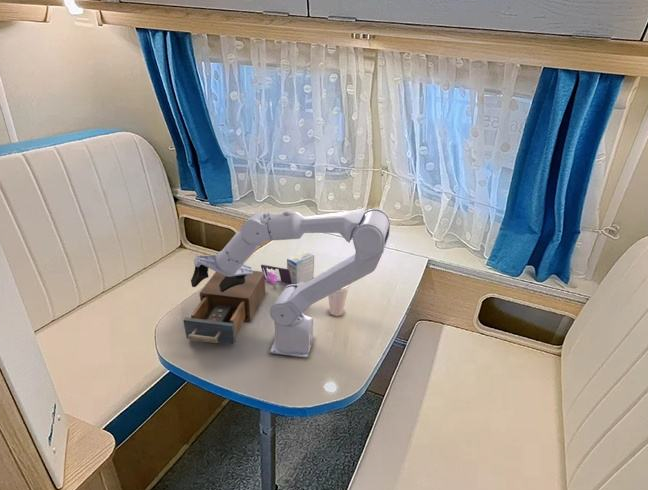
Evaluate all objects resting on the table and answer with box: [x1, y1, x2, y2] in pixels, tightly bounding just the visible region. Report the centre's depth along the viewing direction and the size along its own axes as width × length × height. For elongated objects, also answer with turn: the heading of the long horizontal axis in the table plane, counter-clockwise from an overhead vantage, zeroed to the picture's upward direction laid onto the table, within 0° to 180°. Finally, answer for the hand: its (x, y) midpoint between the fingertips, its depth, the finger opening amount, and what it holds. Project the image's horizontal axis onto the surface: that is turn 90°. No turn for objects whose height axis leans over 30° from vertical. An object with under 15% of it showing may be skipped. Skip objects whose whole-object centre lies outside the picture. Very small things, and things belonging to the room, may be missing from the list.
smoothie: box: [327, 284, 351, 317], centre depth 119 cm, size 6×6×14 cm
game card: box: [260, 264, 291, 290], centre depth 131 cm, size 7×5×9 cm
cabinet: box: [199, 270, 266, 323], centre depth 121 cm, size 15×14×8 cm
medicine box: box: [286, 250, 315, 285], centre depth 134 cm, size 8×4×9 cm, turn 141°
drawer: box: [183, 296, 247, 346], centre depth 110 cm, size 18×12×6 cm
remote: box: [207, 305, 232, 323], centre depth 112 cm, size 4×8×3 cm, turn 172°
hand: (207, 286), depth 105 cm, fingers open, 7 cm apart
